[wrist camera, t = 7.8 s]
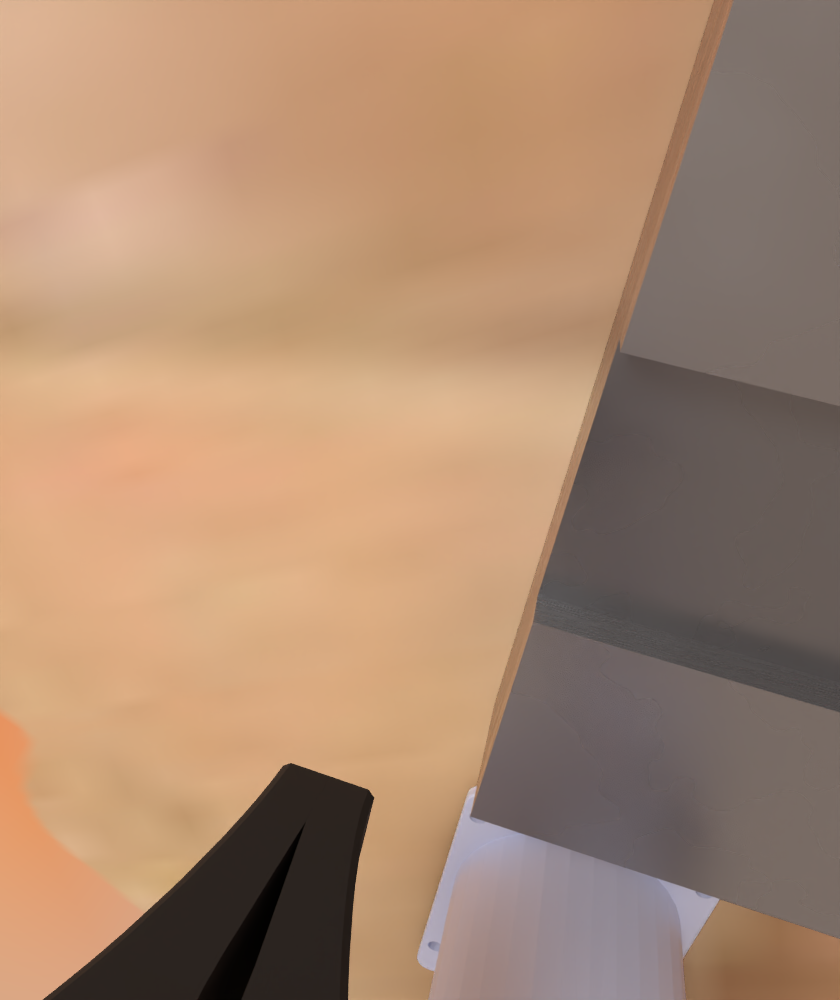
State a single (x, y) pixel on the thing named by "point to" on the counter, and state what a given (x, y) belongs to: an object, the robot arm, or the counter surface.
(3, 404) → the counter surface
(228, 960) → the robot arm
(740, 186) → the slotted plate
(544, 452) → the counter surface
